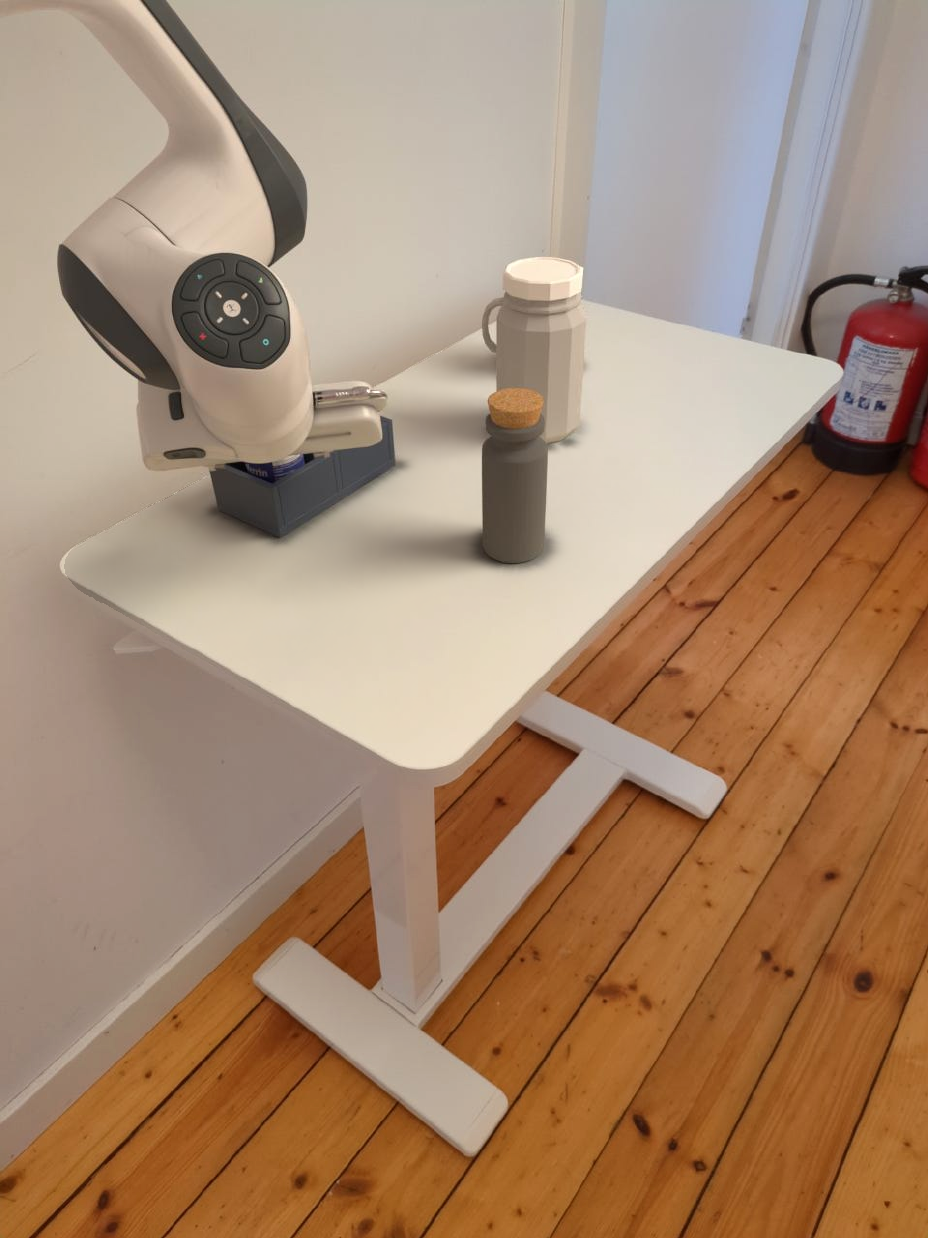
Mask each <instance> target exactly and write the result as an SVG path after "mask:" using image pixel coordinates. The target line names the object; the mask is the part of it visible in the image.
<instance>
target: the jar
mask: <svg viewBox="0 0 928 1238" xmlns="http://www.w3.org/2000/svg"><path fill="white" fill-rule="evenodd" d="M583 274H584V267H582V266H581V265H579V264H578V263H576V262H574V261H572V260H569V259H565V258H560V257H553V256H552V257H551V256H534V257H528V258H520V259H517V260H515V261H513V262H511V263H509V264H506V265H504V268H503V272H502V290H503V291H504V293H503V296H502V298H503V302H504V304H503V305H502V306H500V308H499V309H498V312H497V314H496V320H495V322H496V325H495V327H496V329H495V331H496V336H495V337H496V338H495V339H496V340H495V341H496V342H495V344H496V354H495V356H496V361H495V362H496V363H495V364H496V365H495V367H496V368H495V369H496V371H495V372H496V374H495V375H496V378H495V379H496V387H495V388H496V391H495V392H497V391H499V390H503V389H509V388H523V389H528V390H532V391H535V392H537V393H538V394H540V395H541V396H542V398H543V405H542V409H541V414H542V415H543V416H544V419H545V429H544V432H543V433H542V434H541V435H540V437H541V438H542V439H543V440H544V441H545V442H546V443H547V444H549V443H554V442H559V441H562V440H564V439H566V438H567V437H568V436H570V435H571V434H573V432H575V430H576V429H577V428H578V427H579V426H580V422H581V421H580V420H581V409H582V408H581V407H582V394H583V393H582V392H583V376H584V361H585V360H584V359H585V347H586V345H585V344H586V330H587V329H586V328H587V317H588V316H587V315H588V313H587V310H586V309H585V308H584V306H583V304H582V297H583V296H582V295H583V294H582V293H581V292H582V286H583ZM579 292H580V293H579Z"/></svg>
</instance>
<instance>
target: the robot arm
mask: <svg viewBox="0 0 928 1238" xmlns="http://www.w3.org/2000/svg"><path fill="white" fill-rule="evenodd" d="M35 11H37V12H38V11H60V12H61V11H62V12H65V13H66V14H69V15H70V16H72V17H73V18H75V19H76V20H77V21H79V22H80V23H81V24H82V25H83V26H85V28H86V29H87V30H88V31H89V32H90V33H91V34H92V36H93V37H94V38H95V39H96V40H97V42H99V43H100V45H101V46H102V47H103V48H104V49H105V51H106V52H107V53H108V54H109V55H110V57H111V58H112V59H113V60H114V61H115V62H116V64H117V65H118V66H119V67H120V68H121V69H122V70H123V72H124V73H125V74H126V75H127V76H128V77H129V79H130V80H131V81H132V83H134V84H135V85H136V87H137V88H138V90H140V91H141V92H142V94H143V95H144V96H145V97H146V98H147V100H148V101H149V102H150V103H151V104H152V105H153V107H154V108H155V109H156V110H157V111H158V112H159V114H160V115H161V116H162V117H163V118H164V120H165V122H166V123H167V128H168V135H167V136H168V137H167V140H166V143H165V146H163V147H164V148H163V149H162V151H160V153H159V154H158V155H156V157H155V158H154V159H153V160H152V161H150V162H149V163H148V164H146V166H145V167H143V169H142V170H141V171H139V172H138V173H137V174H136V175H135V176H134V177H133V178H132V179H131V180H130V181H128V182H127V183H126V184H125V185H124V186H123V187H122V188H121V189H120V190H119V191H117V192H116V193H115V194H114V195H113V196H112V197H108V199H107V200H106V201H104V202H103V203H102V204H101V205H99V207H98V208H97V209H95V211H93V212H92V213H90V215H88V217H87V218H85V220H83V221H82V222H81V223H80V224H79V225H78V226H77V227H75V229H74V230H73V231H71V233H70V234H69V235H68V236H67V237H66V238H65V239H64V240H63V241H62V243H60V244H58V248H57V255H56V256H57V257H56V265H57V275H58V281H59V287H60V291H61V295H62V297H63V298H64V300H65V302H66V303H67V305H68V306H69V308H70V310H71V311H72V312H73V314H74V315H75V317H76V318H77V320H78V321H79V322H80V324H81V325H82V327H83V328H84V329H85V331H86V332H87V333H88V334H89V336H90V337H91V339H92V340H93V341H94V342H95V343H96V345H97V346H98V347H99V348H100V349H101V350H102V351H103V352H104V353H105V354H106V356H108V357H109V358H110V359H111V360H112V361H113V362H114V363H115V364H117V365H118V366H119V367H120V368H121V369H122V370H124V371H125V372H126V373H128V374H129V375H131V376H132V377H133V378H135V379H137V404H136V407H135V409H136V411H135V412H136V420H137V431H138V439H139V445H140V451H141V456H142V463H143V465H144V467H145V468H146V469H147V470H149V471H154V472H167V471H174V470H183V469H191V468H197V467H198V468H199V467H202V468H203V467H204V468H208V470H209V469H210V471H219V470H226V469H227V467H226V463H233V462H241V461H243V462H248V463H269V462H273V461H277V460H280V459H282V458H284V457H286V456H291V455H299V454H308V453H313V455H314V459H316V458H325V457H330V452H332V451H334V450H341V449H349V448H358V447H367V446H372V445H374V444H376V443H378V442H380V441H381V440H382V428H381V421H380V416H381V414H380V412H382V411H383V410H385V409H386V408H387V403H388V394H387V393H386V391H385V389H374V388H373V386H372V385H371V384H370V383H368V382H365V381H362V380H344V381H337V382H336V381H335V382H327V383H318V384H317V383H316V384H313V381H312V376H311V355H310V345H309V340H308V336H307V332H306V331H307V330H306V328H305V325H304V321H303V318H302V316H301V313H300V312H299V309H298V306H297V305H296V303H295V301H294V298H293V297H292V295H291V293H290V292H289V289H287V287H286V285H285V284H284V282H283V281H282V279H280V277H279V276H278V275H277V274H276V273H275V271H273V269H271V267H272V266H273V265H274V264H275V263H277V262H278V261H279V260H281V259H282V258H284V256H286V254H288V253H289V252H291V251H292V250H293V249H294V248H296V247H297V246H298V245H300V244H301V243H302V242H303V240H304V238H305V234H306V228H307V219H308V188H307V181H306V179H305V176H304V174H303V172H302V170H301V169H300V167H299V165H298V164H297V162H296V160H295V159H294V158H293V156H292V155H291V154H290V152H289V151H288V150H287V149H286V147H285V146H284V145H283V144H282V143H281V141H280V140H279V139H278V138H277V137H276V136H275V135H274V134H273V132H272V131H271V130H270V129H269V127H267V126H266V124H264V122H263V121H262V120H261V119H260V118H259V117H258V116H257V115H256V114H255V113H254V112H253V111H252V110H251V108H250V107H249V106H248V105H247V104H246V103H245V102H244V101H243V99H242V98H241V97H240V96H239V94H238V93H237V92H236V91H235V89H234V88H233V87H232V85H231V84H230V83H229V81H228V80H227V79H226V78H225V76H224V74H222V73H221V71H220V70H219V68H218V67H217V65H215V63H214V62H213V60H212V59H211V58H210V56H209V55H208V54H207V52H206V50H204V49H203V47H202V46H201V45H200V43H199V42H198V40H197V39H196V38H195V36H194V35H193V33H191V31H190V30H189V29H188V27H187V26H186V25H185V23H184V21H182V19H181V17H179V15H178V14H177V13H176V11H175V10H174V9H173V7H172V6H171V5H170V3H169V2H168V1H167V0H0V18H4V17H9V16H13V15H18V14H19V15H20V14H25V13H29V12H35Z"/></svg>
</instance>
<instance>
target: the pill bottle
mask: <svg viewBox="0 0 928 1238" xmlns="http://www.w3.org/2000/svg"><path fill="white" fill-rule="evenodd" d="M245 463H246V468H247V473H248V474H250V475H252V476H255V477H257V478H260V479H262V480H264V481H267V482H269V483H272V484H273V483H274V482H276V481H277V480H279V479H281V478H283V477H284V476H286V475H288V474H290V473H291V472H293V471H295V470H297V469H298V468H300V467H302V466H304V465H305V463H304V456H303V454H299V455H291V456H286V457H284V458H282V459H280V460H277V461H273V462H269V463H248V462H245Z"/></svg>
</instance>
